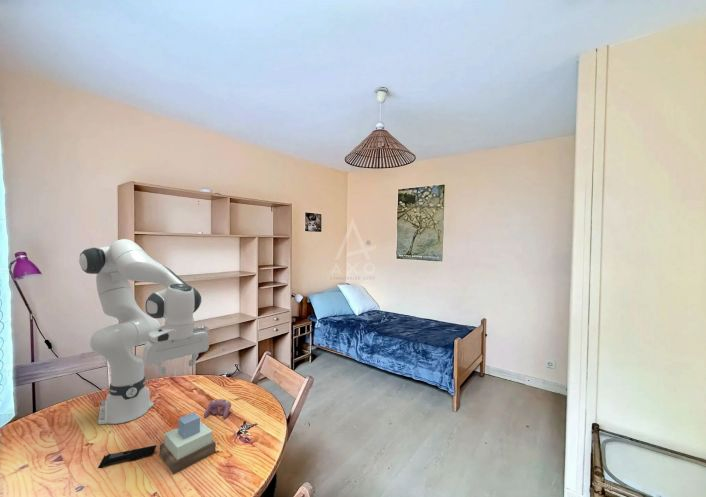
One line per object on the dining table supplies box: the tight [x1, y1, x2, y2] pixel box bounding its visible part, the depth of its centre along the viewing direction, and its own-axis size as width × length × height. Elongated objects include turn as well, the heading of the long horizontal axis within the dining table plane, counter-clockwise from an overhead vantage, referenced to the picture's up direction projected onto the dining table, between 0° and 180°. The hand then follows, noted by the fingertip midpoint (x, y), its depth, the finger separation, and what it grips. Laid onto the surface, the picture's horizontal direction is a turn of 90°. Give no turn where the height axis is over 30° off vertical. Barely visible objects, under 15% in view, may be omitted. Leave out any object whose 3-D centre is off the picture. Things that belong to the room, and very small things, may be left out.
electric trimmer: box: [97, 444, 157, 469], centre depth 97 cm, size 4×16×3 cm, turn 113°
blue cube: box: [177, 412, 201, 439], centre depth 99 cm, size 5×5×5 cm
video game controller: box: [203, 398, 232, 420], centre depth 123 cm, size 10×5×7 cm, turn 86°
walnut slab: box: [159, 439, 216, 475], centre depth 100 cm, size 13×13×4 cm
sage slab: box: [164, 420, 213, 460], centre depth 99 cm, size 11×11×4 cm
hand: (177, 369), depth 102 cm, fingers open, 8 cm apart
